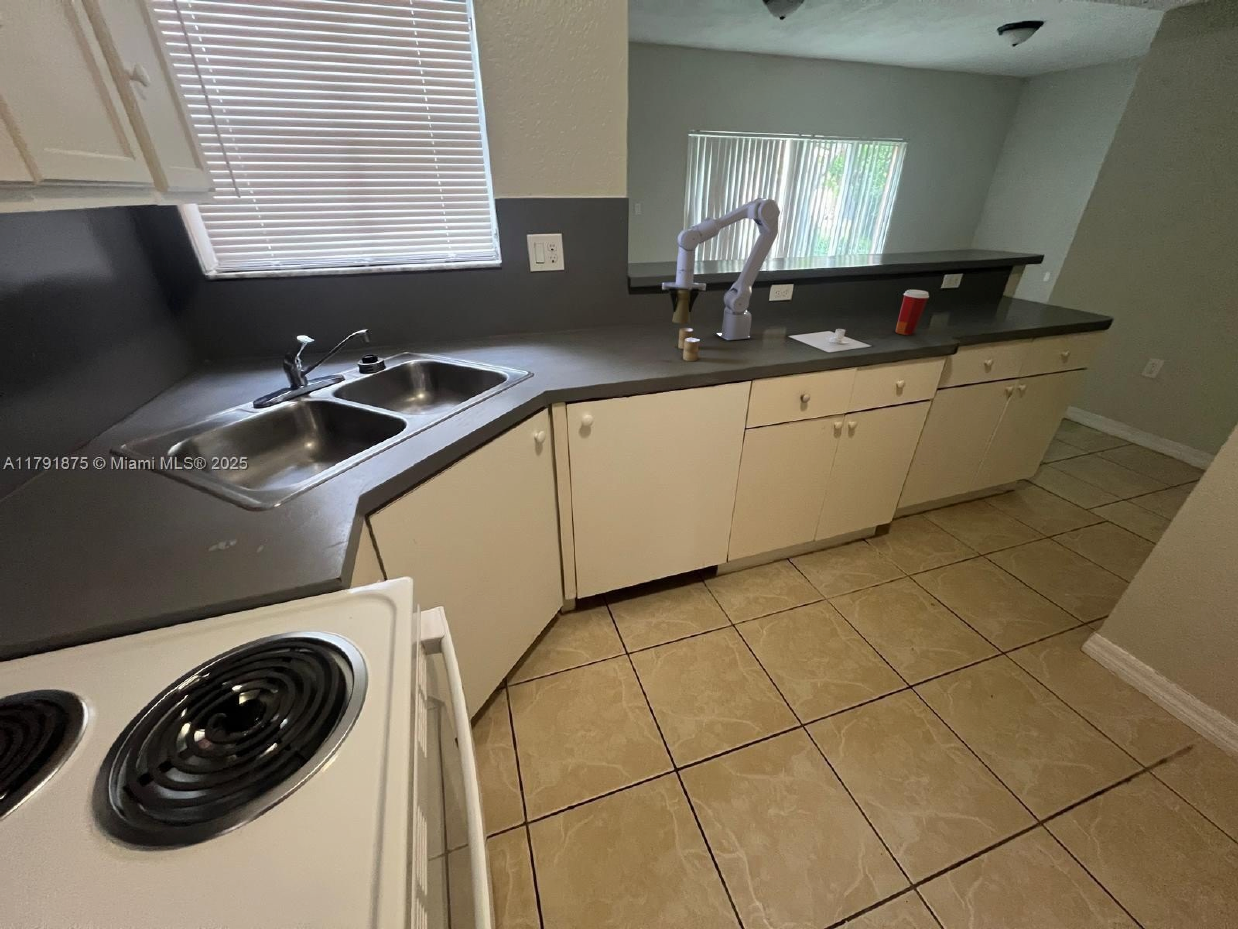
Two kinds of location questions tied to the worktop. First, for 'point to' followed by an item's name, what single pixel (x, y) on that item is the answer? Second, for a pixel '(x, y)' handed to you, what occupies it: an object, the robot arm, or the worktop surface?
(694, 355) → the post
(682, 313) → the cork
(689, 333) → the post
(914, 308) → the coffee cup
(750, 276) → the robot arm
